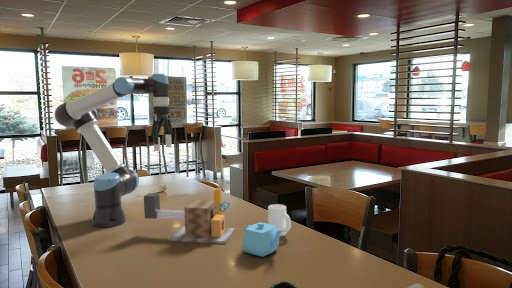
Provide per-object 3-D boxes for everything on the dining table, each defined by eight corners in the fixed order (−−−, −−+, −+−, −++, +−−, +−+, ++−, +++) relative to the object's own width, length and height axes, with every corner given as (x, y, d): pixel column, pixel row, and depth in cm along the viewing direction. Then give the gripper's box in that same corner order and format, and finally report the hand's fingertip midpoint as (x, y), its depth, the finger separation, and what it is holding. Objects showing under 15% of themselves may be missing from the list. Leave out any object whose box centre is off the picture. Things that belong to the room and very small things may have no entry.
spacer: (211, 236, 160) (211, 219, 159) (216, 230, 167) (216, 214, 166) (220, 237, 159) (220, 220, 158) (225, 231, 166) (224, 214, 166)
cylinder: (224, 223, 180) (224, 192, 178) (203, 222, 182) (203, 191, 180) (231, 215, 192) (230, 186, 190) (211, 214, 194) (211, 186, 192)
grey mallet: (144, 218, 166) (143, 196, 165) (149, 214, 171) (148, 193, 170) (201, 220, 161) (200, 198, 160) (204, 217, 166) (204, 195, 165)
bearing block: (170, 240, 159) (168, 208, 157) (184, 227, 175) (183, 198, 173) (225, 243, 155) (224, 210, 153) (234, 230, 170) (233, 200, 169)
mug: (283, 240, 157) (283, 212, 156) (264, 233, 166) (263, 206, 165) (296, 235, 163) (296, 208, 161) (277, 228, 172) (277, 203, 170)
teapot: (274, 263, 135) (274, 233, 134) (235, 252, 146) (235, 223, 145) (292, 252, 145) (292, 223, 144) (254, 242, 156) (254, 215, 155)
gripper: (157, 106, 171) (159, 152, 174) (178, 105, 196) (179, 145, 198) (142, 106, 173) (144, 152, 175) (164, 105, 197) (166, 145, 200)
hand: (163, 149), depth 187 cm, fingers open, 13 cm apart
